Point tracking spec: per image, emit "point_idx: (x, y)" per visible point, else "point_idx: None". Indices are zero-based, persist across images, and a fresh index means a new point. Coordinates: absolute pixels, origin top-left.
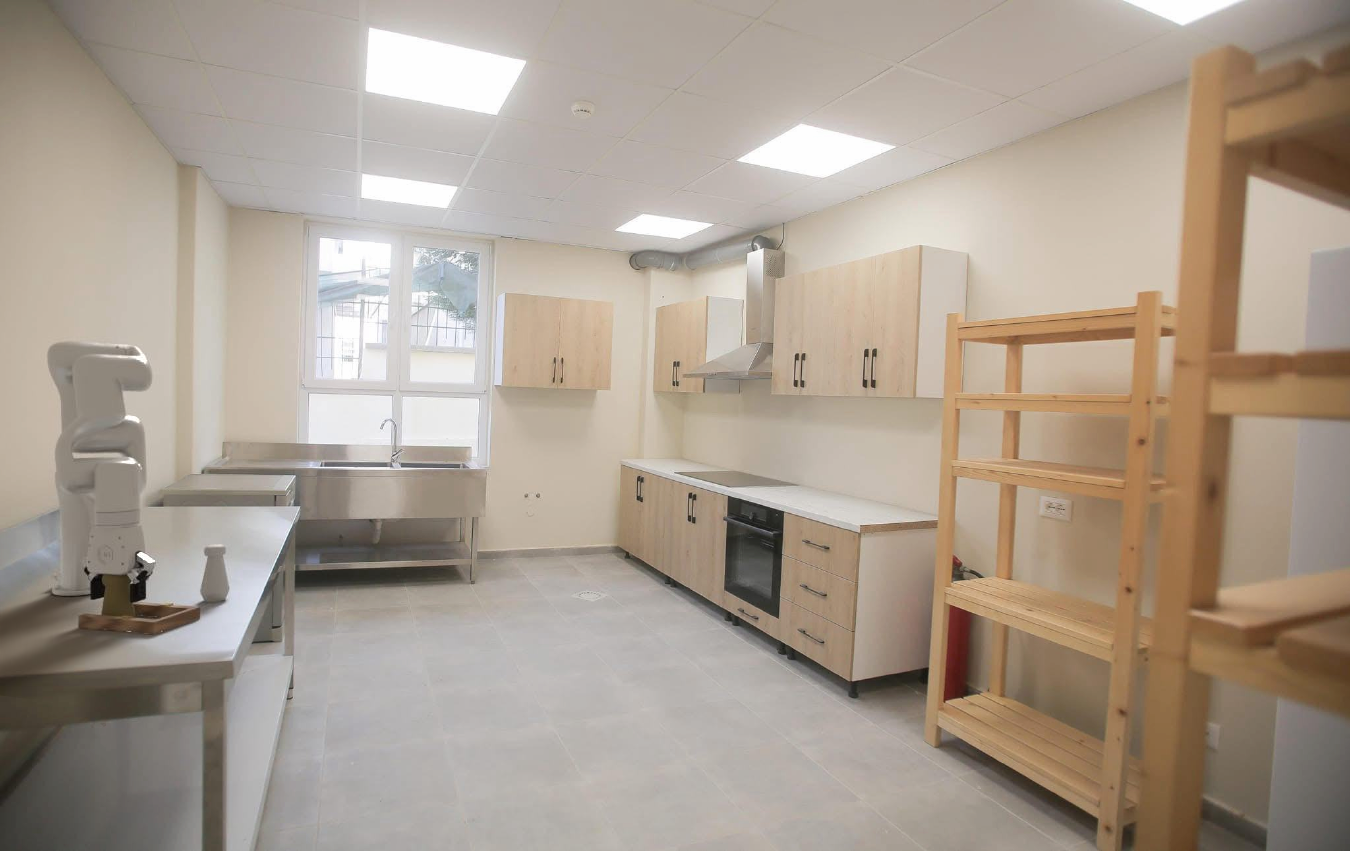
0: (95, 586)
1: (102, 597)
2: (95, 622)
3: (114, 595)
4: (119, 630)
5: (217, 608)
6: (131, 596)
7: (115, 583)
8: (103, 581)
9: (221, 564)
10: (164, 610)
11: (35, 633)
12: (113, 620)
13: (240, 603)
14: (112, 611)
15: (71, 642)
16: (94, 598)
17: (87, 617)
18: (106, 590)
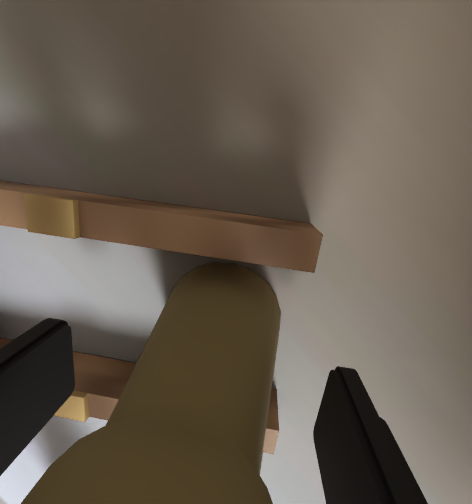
0: (357, 462)
1: (322, 413)
2: (215, 214)
3: (156, 359)
4: (103, 195)
5: (30, 445)
6: (21, 337)
7: (81, 441)
8: (200, 470)
9: None
10: (74, 374)
11: (450, 123)
12: (108, 203)
13: (13, 484)
14: (188, 295)
15: (170, 21)
16: (332, 375)
17: (260, 224)
18: (210, 393)
